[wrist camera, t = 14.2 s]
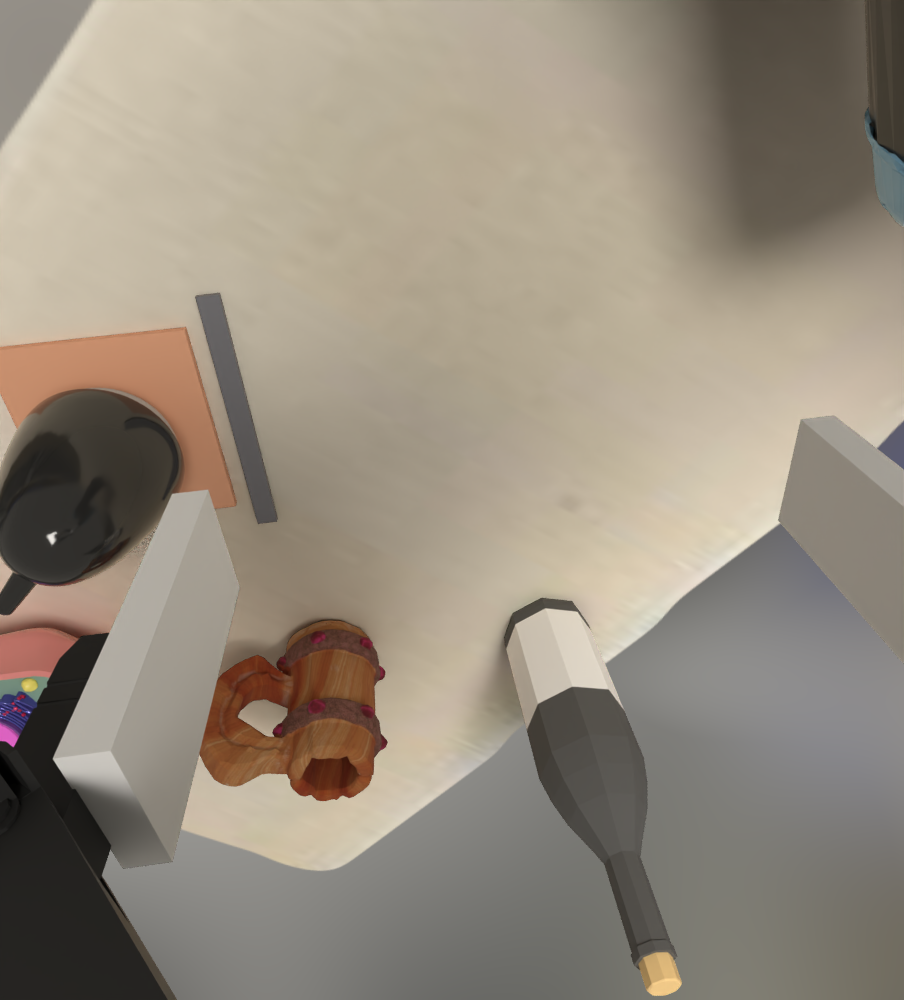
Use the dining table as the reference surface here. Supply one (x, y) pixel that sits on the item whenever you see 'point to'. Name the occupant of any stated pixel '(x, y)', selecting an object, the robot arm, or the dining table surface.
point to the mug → (302, 715)
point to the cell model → (26, 674)
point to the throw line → (236, 404)
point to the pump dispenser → (82, 487)
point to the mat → (127, 390)
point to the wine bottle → (590, 765)
